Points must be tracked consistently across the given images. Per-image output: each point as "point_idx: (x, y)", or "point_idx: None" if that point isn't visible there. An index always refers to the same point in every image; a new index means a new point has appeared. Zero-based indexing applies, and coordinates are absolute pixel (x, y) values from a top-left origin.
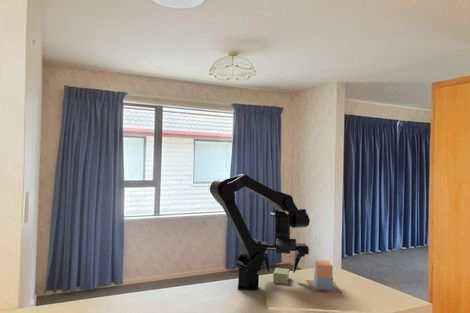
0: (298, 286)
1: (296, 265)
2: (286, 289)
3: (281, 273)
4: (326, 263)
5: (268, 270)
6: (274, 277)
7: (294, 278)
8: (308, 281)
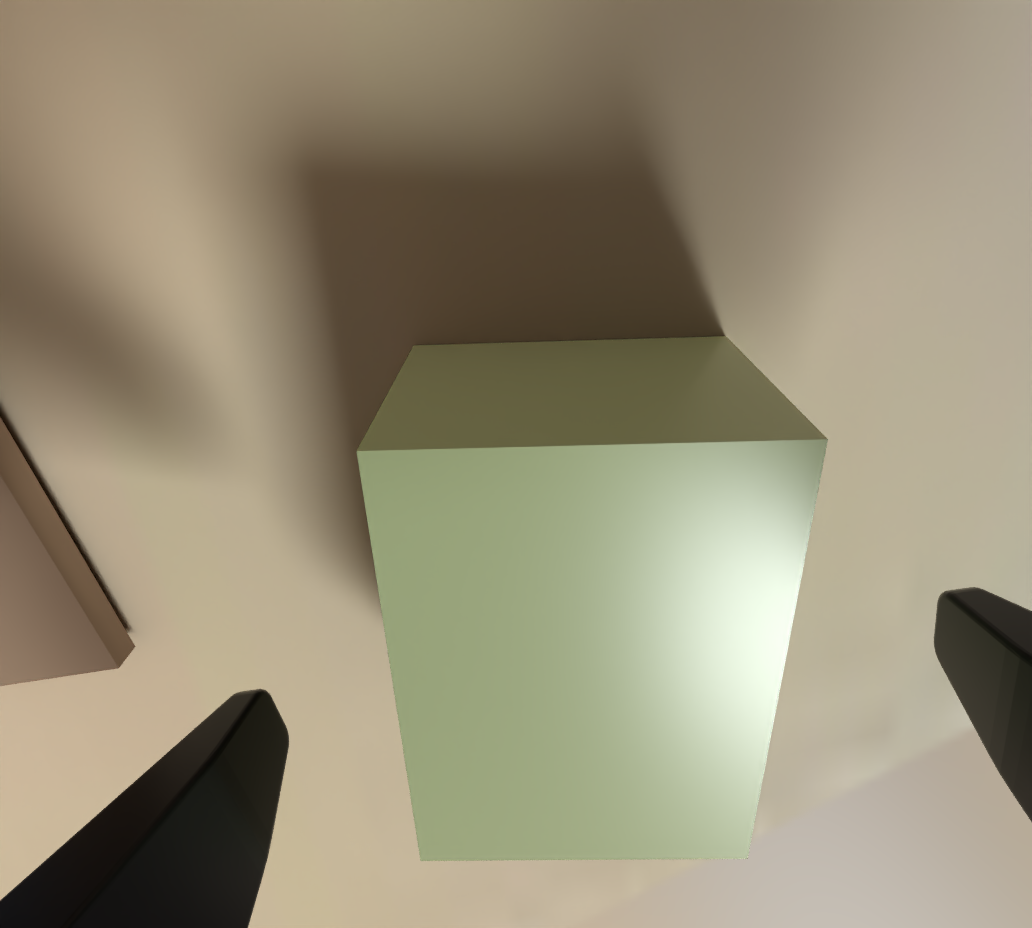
0: (194, 390)
1: (56, 871)
2: (389, 80)
3: (560, 477)
4: None
5: (979, 601)
6: (745, 390)
7: (373, 755)
8: (49, 613)
